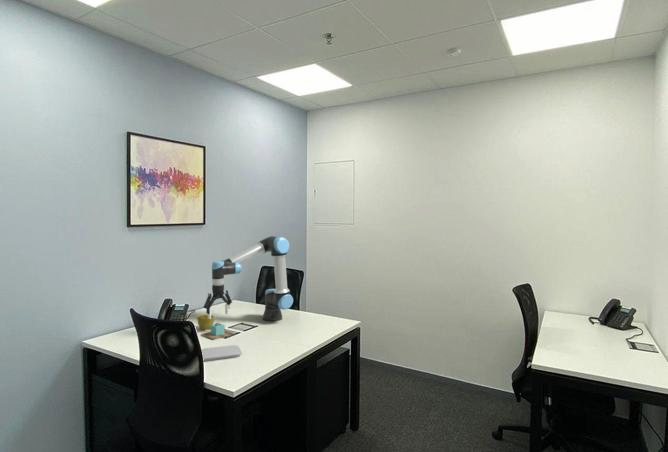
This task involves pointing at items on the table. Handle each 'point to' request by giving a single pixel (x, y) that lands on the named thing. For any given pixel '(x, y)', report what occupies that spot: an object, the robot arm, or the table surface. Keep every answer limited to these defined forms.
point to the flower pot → (205, 322)
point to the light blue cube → (217, 329)
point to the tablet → (221, 352)
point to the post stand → (213, 337)
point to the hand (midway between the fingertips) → (218, 316)
